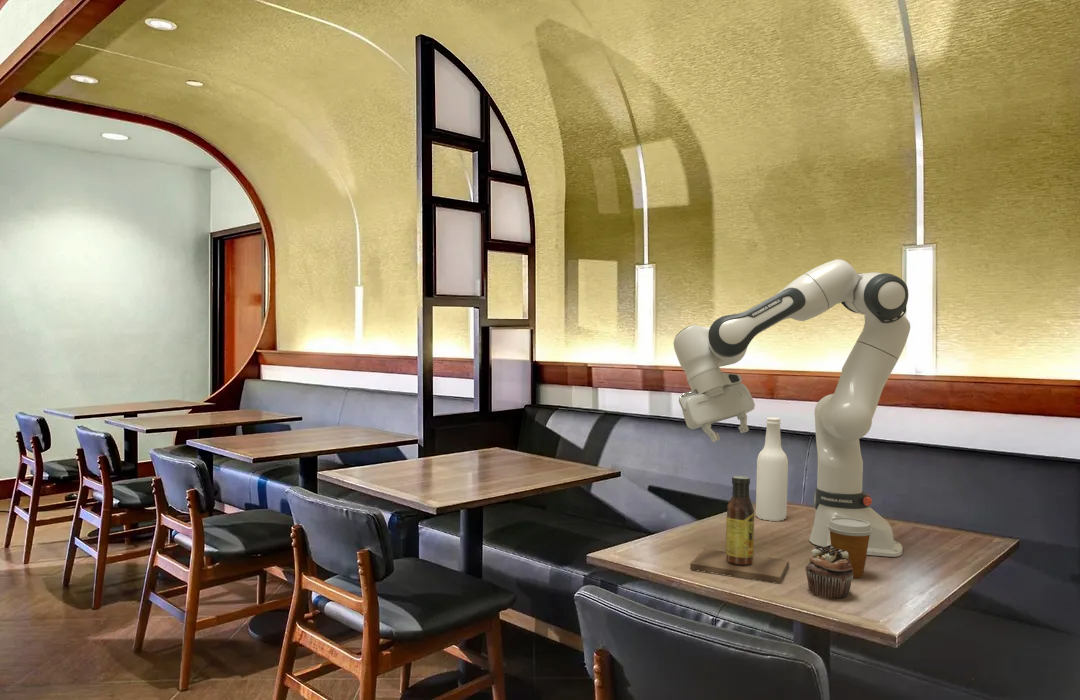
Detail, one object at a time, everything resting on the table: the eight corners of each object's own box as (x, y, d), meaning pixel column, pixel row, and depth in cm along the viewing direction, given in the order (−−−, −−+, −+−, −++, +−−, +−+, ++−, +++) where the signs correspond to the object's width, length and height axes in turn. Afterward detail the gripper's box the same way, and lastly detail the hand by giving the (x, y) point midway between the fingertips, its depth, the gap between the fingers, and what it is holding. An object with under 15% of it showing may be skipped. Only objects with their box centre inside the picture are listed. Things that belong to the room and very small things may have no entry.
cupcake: (862, 595, 161) (863, 548, 160) (835, 604, 155) (836, 555, 155) (822, 582, 168) (823, 537, 168) (795, 590, 163) (796, 544, 163)
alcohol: (773, 513, 232) (776, 415, 232) (792, 520, 224) (795, 419, 223) (749, 515, 229) (752, 416, 228) (768, 522, 221) (771, 419, 220)
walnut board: (788, 566, 180) (788, 560, 180) (780, 583, 167) (780, 577, 167) (704, 554, 188) (704, 548, 188) (690, 570, 175) (690, 563, 175)
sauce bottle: (754, 567, 173) (756, 480, 173) (726, 565, 175) (728, 479, 174) (752, 559, 180) (754, 475, 179) (724, 557, 181) (727, 474, 181)
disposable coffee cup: (879, 579, 171) (881, 526, 171) (840, 581, 169) (842, 527, 169) (855, 566, 180) (856, 516, 180) (818, 568, 179) (819, 517, 178)
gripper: (682, 390, 187) (705, 442, 183) (745, 373, 196) (768, 423, 192) (670, 399, 192) (691, 450, 189) (731, 382, 202) (753, 430, 198)
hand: (731, 436), depth 191 cm, fingers open, 8 cm apart
